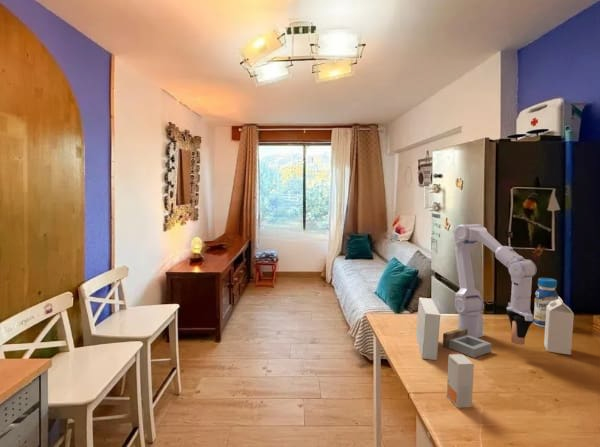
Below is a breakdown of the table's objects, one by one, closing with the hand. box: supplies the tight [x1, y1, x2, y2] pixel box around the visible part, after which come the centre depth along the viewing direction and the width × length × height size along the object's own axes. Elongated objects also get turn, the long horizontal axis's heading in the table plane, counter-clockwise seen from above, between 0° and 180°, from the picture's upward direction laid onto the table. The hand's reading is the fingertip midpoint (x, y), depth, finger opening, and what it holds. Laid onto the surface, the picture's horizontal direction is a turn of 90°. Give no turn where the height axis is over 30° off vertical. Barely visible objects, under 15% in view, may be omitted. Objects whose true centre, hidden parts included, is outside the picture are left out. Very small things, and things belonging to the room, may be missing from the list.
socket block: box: [448, 334, 493, 359], centre depth 136 cm, size 10×10×3 cm
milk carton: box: [543, 295, 575, 356], centre depth 137 cm, size 7×7×19 cm
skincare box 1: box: [415, 297, 441, 361], centre depth 137 cm, size 21×5×16 cm, turn 168°
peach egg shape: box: [510, 320, 526, 346], centre depth 130 cm, size 4×4×7 cm
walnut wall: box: [442, 328, 468, 349], centre depth 141 cm, size 12×2×5 cm, turn 121°
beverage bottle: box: [533, 277, 559, 328], centre depth 163 cm, size 8×8×20 cm
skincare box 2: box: [446, 353, 475, 409], centre depth 102 cm, size 6×4×12 cm
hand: (518, 334), depth 130 cm, fingers closed on peach egg shape, 4 cm apart
